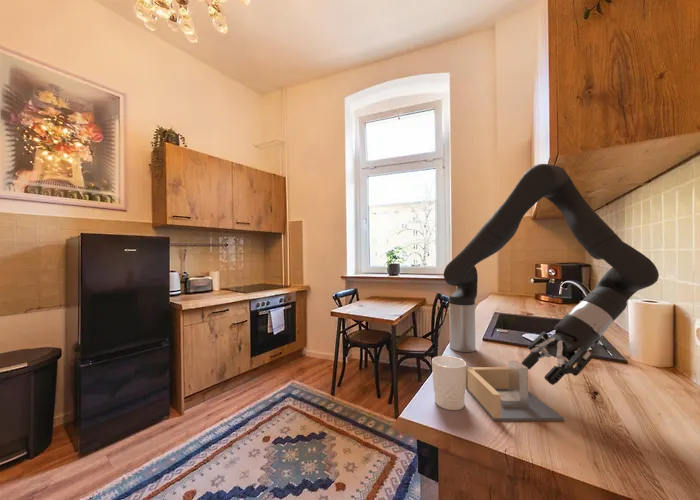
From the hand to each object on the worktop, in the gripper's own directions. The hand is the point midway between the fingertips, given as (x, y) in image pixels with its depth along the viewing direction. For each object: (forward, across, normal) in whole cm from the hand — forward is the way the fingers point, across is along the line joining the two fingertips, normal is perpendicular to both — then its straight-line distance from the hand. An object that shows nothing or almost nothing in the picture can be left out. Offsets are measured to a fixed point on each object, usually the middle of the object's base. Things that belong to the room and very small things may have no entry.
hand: (535, 373), depth 67 cm
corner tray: (+9, -1, +1) cm, 9 cm away
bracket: (+9, 0, 0) cm, 9 cm away
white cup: (+20, -1, -9) cm, 22 cm away
